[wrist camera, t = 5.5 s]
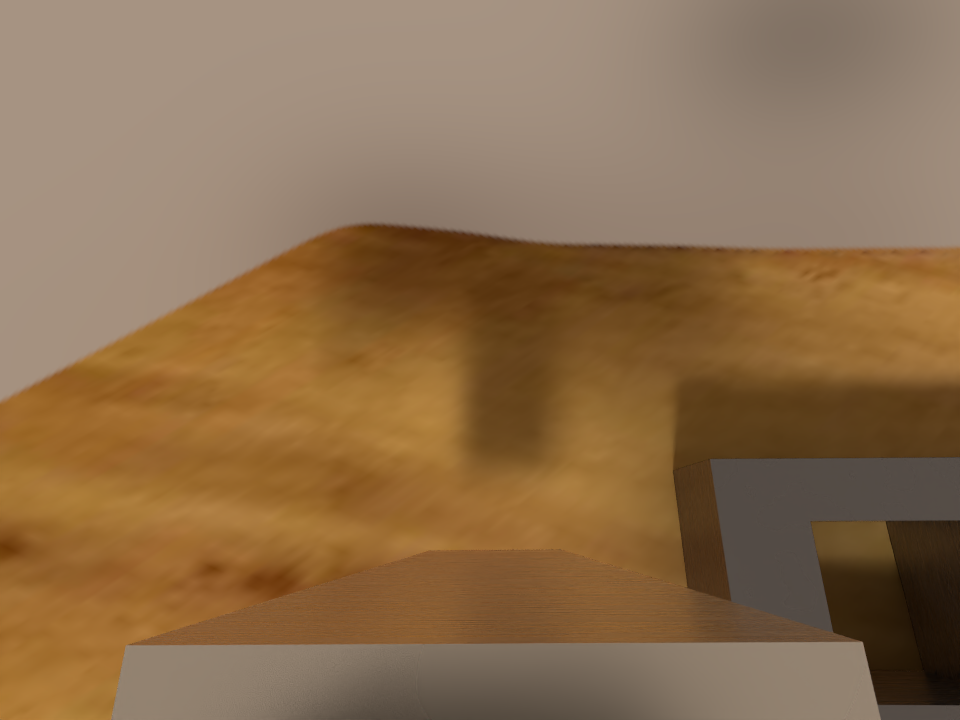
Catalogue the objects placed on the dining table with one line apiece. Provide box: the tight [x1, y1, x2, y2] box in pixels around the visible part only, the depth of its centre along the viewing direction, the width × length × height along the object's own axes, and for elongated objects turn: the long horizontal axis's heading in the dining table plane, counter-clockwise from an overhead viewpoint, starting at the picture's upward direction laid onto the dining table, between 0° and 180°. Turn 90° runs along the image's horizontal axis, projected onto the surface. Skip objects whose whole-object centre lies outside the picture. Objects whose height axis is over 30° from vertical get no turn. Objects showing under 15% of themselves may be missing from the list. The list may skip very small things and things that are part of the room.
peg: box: [111, 549, 881, 720], centre depth 8 cm, size 4×4×13 cm
